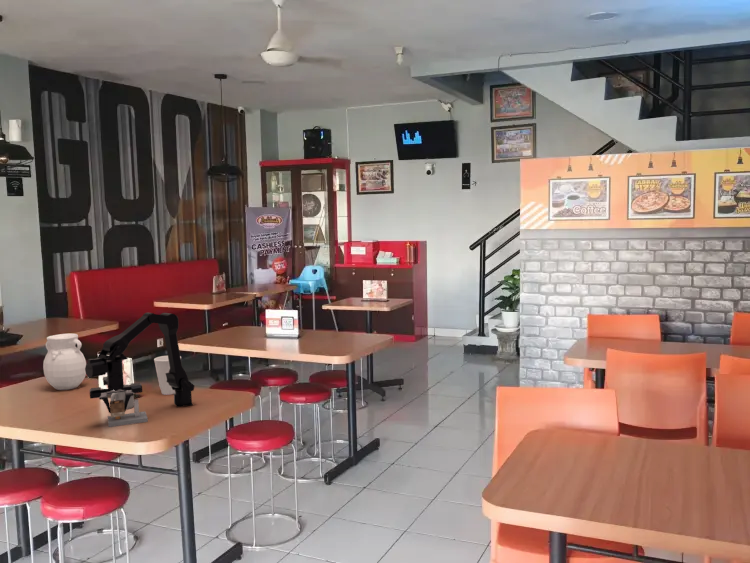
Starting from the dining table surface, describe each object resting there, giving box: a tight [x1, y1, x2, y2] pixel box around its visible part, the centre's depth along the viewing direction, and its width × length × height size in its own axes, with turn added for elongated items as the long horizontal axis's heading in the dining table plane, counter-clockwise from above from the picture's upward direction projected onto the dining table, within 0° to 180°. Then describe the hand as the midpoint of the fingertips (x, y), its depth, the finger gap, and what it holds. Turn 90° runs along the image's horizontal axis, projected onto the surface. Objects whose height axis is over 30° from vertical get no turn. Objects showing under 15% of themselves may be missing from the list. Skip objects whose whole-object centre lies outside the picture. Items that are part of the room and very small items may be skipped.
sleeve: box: [109, 400, 126, 417], centre depth 252 cm, size 5×5×5 cm
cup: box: [110, 384, 135, 410], centre depth 272 cm, size 7×10×9 cm
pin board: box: [107, 398, 149, 428], centre depth 254 cm, size 14×10×8 cm
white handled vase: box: [42, 332, 87, 391], centre depth 309 cm, size 19×18×25 cm
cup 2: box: [153, 355, 182, 396], centre depth 295 cm, size 12×12×16 cm
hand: (117, 412), depth 253 cm, fingers closed on sleeve, 5 cm apart
